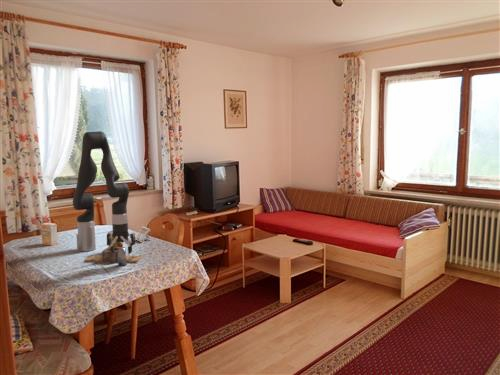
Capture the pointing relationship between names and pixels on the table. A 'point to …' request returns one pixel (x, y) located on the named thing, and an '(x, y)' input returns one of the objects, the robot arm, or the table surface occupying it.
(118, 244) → the canned food
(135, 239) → the portable electronic device stand
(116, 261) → the hinge
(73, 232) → the table surface
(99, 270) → the table surface
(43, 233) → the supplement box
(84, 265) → the table surface
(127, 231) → the robot arm
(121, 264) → the hinge pin
